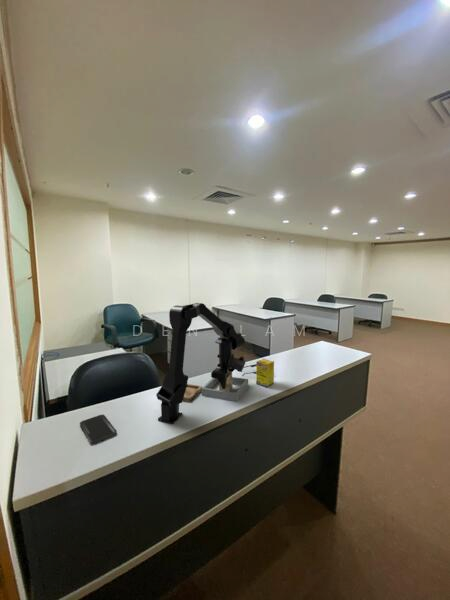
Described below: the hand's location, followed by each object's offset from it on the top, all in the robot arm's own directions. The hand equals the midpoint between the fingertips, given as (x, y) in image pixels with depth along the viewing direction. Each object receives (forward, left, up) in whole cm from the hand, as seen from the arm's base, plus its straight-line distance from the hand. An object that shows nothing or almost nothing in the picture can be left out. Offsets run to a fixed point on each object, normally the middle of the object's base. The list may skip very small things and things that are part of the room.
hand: (225, 386), depth 109 cm
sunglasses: (+23, -6, -2) cm, 24 cm away
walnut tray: (-9, +16, -2) cm, 18 cm away
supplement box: (+12, -15, -2) cm, 19 cm away
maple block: (0, 0, -2) cm, 2 cm away
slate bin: (0, 0, -2) cm, 2 cm away
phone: (-41, +30, -2) cm, 51 cm away
